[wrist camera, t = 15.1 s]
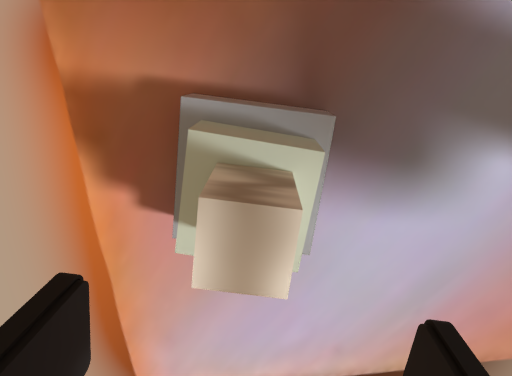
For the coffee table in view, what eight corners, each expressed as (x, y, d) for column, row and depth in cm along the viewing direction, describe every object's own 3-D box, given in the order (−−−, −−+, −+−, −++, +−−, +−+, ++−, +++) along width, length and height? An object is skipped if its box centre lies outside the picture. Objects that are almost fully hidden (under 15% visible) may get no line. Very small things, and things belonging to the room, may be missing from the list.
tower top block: (314, 139, 28) (325, 152, 23) (292, 241, 31) (297, 272, 26) (201, 119, 28) (188, 129, 23) (189, 225, 30) (175, 252, 26)
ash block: (292, 171, 24) (302, 210, 17) (281, 239, 25) (287, 299, 19) (217, 162, 24) (198, 197, 17) (210, 231, 25) (191, 287, 18)
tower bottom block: (325, 110, 32) (336, 116, 27) (303, 231, 36) (309, 255, 31) (193, 93, 32) (180, 96, 27) (184, 216, 36) (172, 238, 31)
